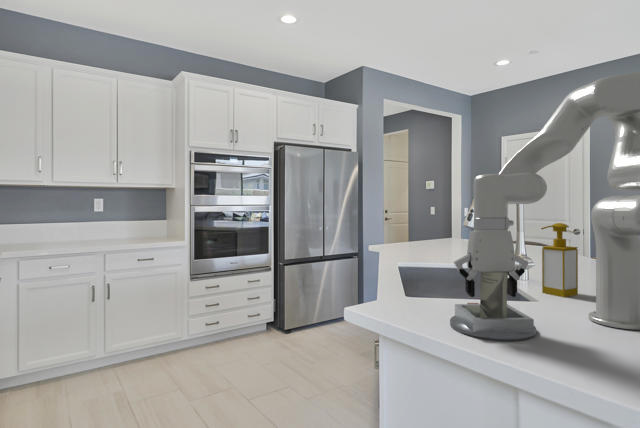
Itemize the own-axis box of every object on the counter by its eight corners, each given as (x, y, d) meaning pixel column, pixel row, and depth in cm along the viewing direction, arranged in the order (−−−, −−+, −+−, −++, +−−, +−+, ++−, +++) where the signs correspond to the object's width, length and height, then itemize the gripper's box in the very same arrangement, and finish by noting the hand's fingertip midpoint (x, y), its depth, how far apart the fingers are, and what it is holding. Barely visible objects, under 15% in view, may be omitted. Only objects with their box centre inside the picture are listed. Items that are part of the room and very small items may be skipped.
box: (479, 323, 93) (478, 270, 92) (486, 319, 96) (486, 268, 95) (501, 327, 89) (501, 273, 89) (508, 323, 92) (508, 270, 92)
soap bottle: (531, 294, 126) (531, 223, 125) (556, 290, 131) (555, 222, 130) (552, 299, 119) (552, 224, 119) (577, 294, 124) (577, 222, 124)
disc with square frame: (507, 312, 105) (507, 298, 105) (553, 341, 82) (553, 323, 82) (437, 312, 106) (437, 298, 106) (464, 341, 83) (464, 323, 83)
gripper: (519, 224, 95) (520, 292, 96) (449, 225, 96) (450, 292, 96) (535, 225, 88) (535, 299, 88) (459, 226, 89) (459, 299, 89)
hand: (491, 295), depth 92 cm, fingers open, 9 cm apart
